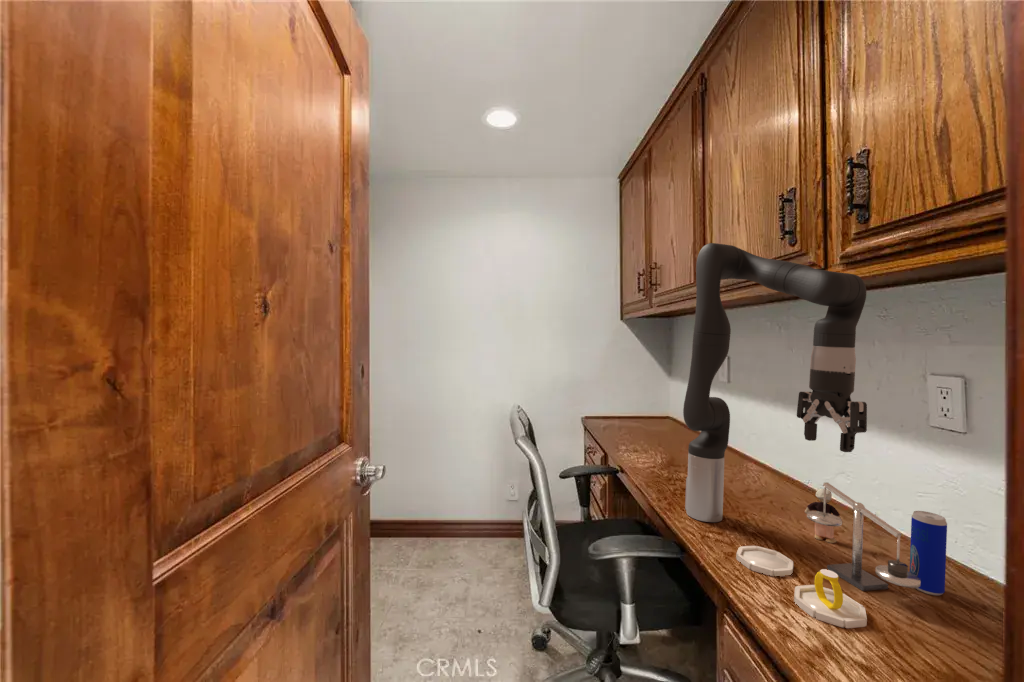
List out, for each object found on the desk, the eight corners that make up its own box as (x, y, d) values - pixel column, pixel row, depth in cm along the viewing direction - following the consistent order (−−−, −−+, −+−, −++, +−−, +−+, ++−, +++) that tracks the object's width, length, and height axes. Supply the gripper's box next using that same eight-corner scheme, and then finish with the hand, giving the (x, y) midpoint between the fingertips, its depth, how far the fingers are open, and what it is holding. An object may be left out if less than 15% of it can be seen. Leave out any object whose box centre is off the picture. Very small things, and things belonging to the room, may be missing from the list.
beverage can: (908, 578, 90) (910, 508, 90) (942, 588, 87) (945, 514, 87) (910, 589, 86) (912, 515, 86) (946, 600, 83) (949, 523, 83)
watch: (846, 616, 77) (849, 584, 76) (829, 615, 77) (832, 583, 76) (824, 593, 83) (827, 564, 82) (809, 592, 83) (811, 563, 82)
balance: (798, 552, 100) (801, 478, 100) (822, 551, 101) (825, 477, 101) (900, 614, 78) (903, 518, 78) (929, 611, 79) (932, 517, 79)
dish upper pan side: (726, 552, 100) (727, 547, 100) (767, 549, 101) (767, 544, 101) (760, 577, 89) (760, 572, 89) (805, 574, 91) (805, 568, 91)
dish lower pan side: (780, 593, 84) (781, 587, 84) (827, 589, 86) (828, 583, 86) (829, 630, 73) (829, 623, 73) (881, 624, 75) (882, 618, 75)
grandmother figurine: (840, 540, 107) (842, 489, 107) (842, 546, 104) (843, 494, 104) (803, 531, 112) (805, 483, 112) (803, 537, 109) (805, 487, 109)
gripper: (789, 365, 96) (785, 437, 96) (847, 371, 82) (842, 456, 82) (818, 365, 97) (814, 437, 97) (881, 372, 83) (876, 455, 83)
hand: (827, 445), depth 90 cm, fingers open, 8 cm apart
